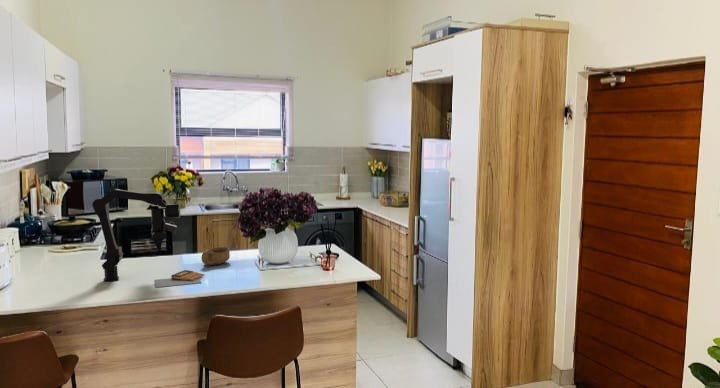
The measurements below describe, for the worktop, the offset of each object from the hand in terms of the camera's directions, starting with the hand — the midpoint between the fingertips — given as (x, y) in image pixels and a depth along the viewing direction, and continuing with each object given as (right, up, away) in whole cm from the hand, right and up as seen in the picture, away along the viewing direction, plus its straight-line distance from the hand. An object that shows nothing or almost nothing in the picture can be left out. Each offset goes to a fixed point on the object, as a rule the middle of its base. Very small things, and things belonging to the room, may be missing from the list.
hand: (159, 250), depth 267 cm
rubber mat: (+11, -14, -8) cm, 20 cm away
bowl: (+20, -10, +27) cm, 35 cm away
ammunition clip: (+9, -12, 0) cm, 15 cm away
